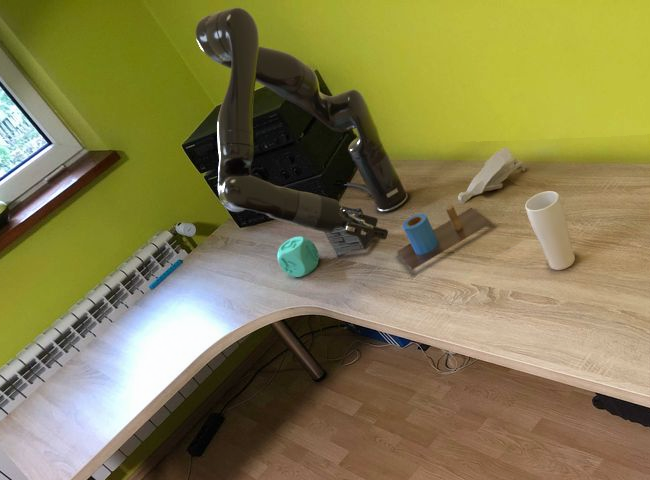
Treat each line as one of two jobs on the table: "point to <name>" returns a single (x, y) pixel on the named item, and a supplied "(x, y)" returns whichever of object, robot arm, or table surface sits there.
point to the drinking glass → (551, 228)
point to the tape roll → (420, 234)
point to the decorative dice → (298, 256)
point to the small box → (347, 240)
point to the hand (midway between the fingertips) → (381, 228)
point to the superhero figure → (491, 174)
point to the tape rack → (447, 235)
